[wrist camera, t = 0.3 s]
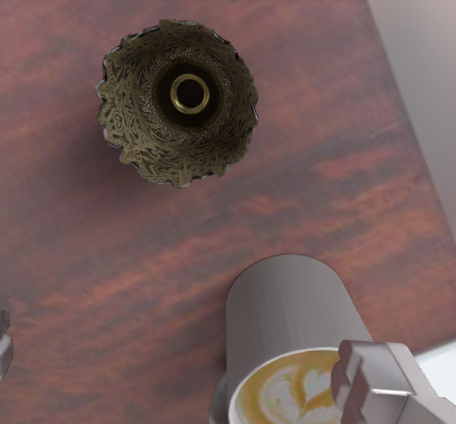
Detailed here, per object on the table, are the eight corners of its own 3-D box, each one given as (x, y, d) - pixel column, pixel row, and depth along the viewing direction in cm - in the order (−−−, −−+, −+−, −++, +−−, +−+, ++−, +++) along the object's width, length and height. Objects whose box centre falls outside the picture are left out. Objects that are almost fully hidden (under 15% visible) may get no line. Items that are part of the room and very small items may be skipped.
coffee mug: (307, 231, 28) (348, 316, 19) (367, 318, 32) (427, 426, 22) (168, 315, 31) (145, 425, 22) (236, 387, 34) (241, 509, 25)
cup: (230, 14, 23) (234, -5, 15) (260, 132, 25) (275, 164, 18) (114, 51, 23) (65, 49, 16) (156, 162, 26) (130, 204, 19)
